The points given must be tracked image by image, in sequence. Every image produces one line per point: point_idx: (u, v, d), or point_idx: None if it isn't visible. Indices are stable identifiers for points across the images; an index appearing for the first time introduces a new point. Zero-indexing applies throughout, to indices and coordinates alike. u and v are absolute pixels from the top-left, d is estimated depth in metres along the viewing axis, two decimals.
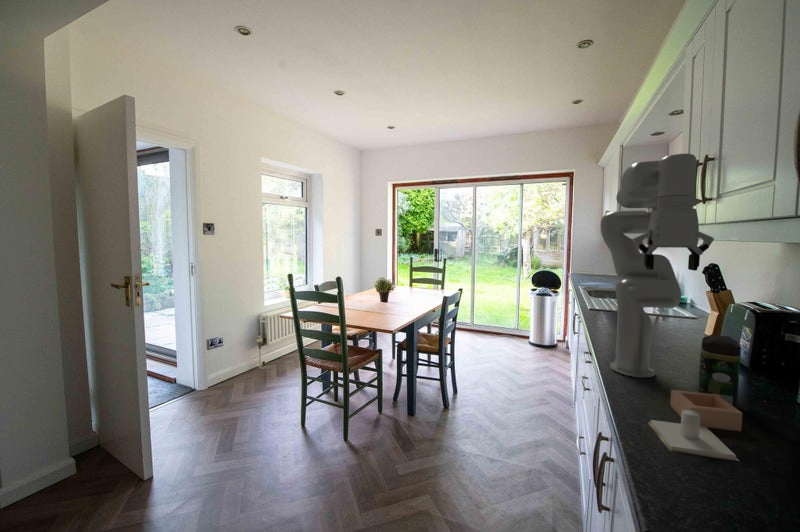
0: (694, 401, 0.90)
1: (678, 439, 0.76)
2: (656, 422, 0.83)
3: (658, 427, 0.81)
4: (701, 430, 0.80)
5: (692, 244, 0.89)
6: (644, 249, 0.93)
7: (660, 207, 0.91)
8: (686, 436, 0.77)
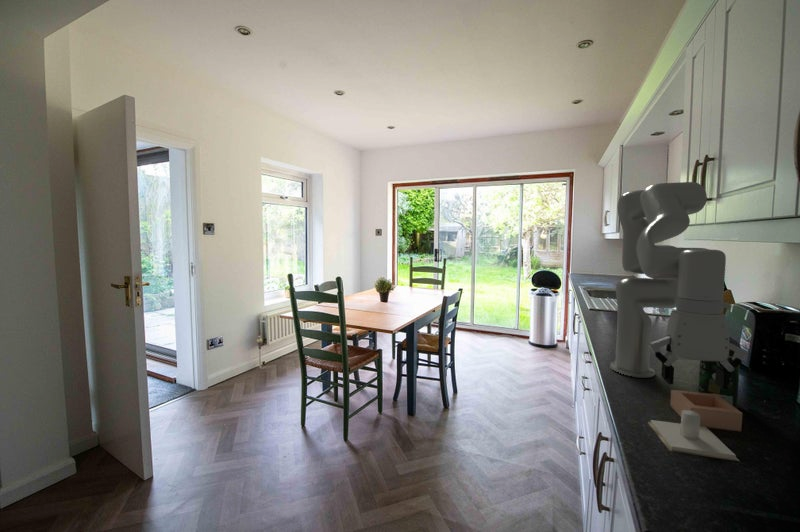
0: (694, 401, 0.90)
1: (678, 439, 0.76)
2: (656, 422, 0.83)
3: (658, 427, 0.81)
4: (701, 430, 0.80)
5: (721, 359, 0.73)
6: (662, 359, 0.77)
7: (681, 310, 0.75)
8: (686, 436, 0.77)
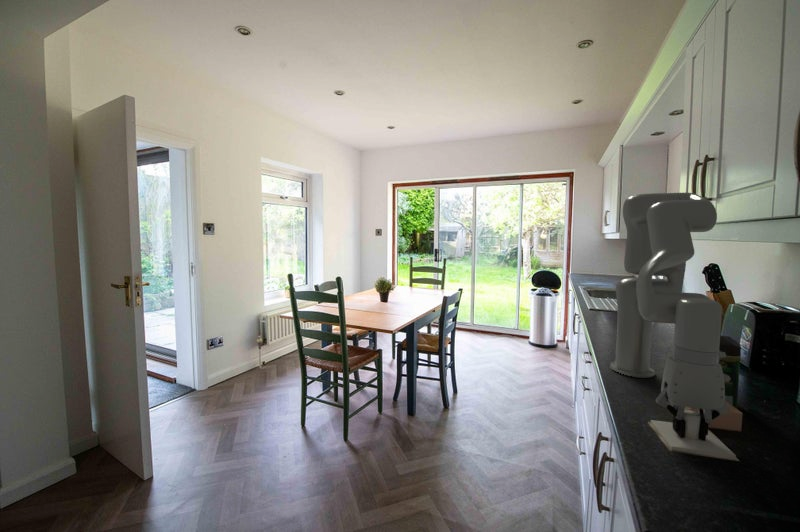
0: None
1: (678, 439, 0.76)
2: (656, 422, 0.83)
3: (658, 427, 0.81)
4: None
5: (716, 407, 0.74)
6: (673, 412, 0.77)
7: (678, 359, 0.76)
8: (686, 436, 0.77)
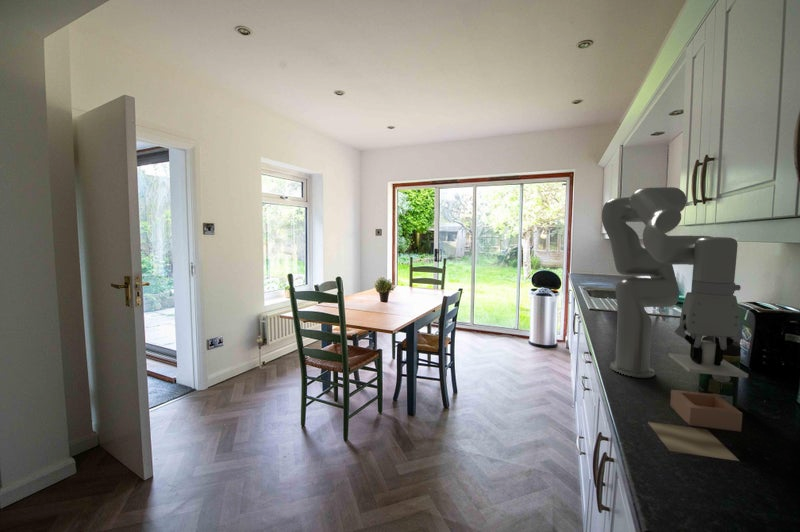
0: (694, 401, 0.90)
1: (695, 365, 0.84)
2: (675, 354, 0.91)
3: (676, 357, 0.89)
4: None
5: (731, 334, 0.82)
6: (691, 341, 0.85)
7: (696, 292, 0.84)
8: (703, 362, 0.85)
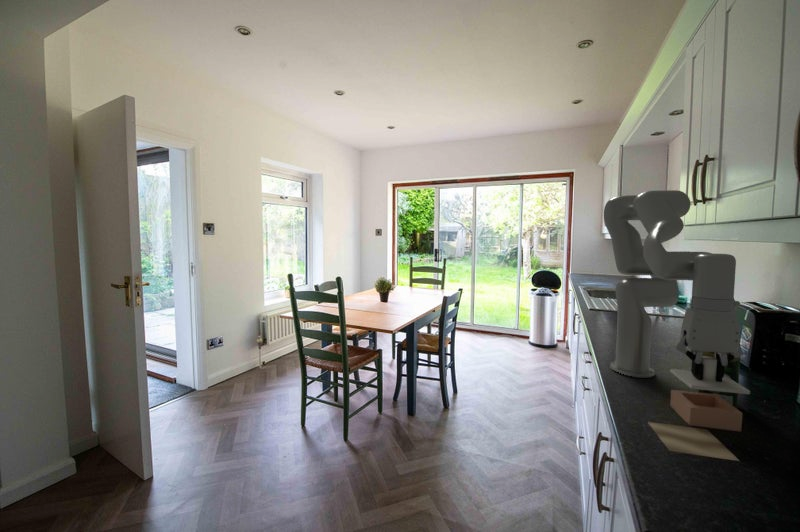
0: (694, 401, 0.90)
1: (697, 381, 0.84)
2: (676, 370, 0.91)
3: (678, 373, 0.89)
4: None
5: (732, 350, 0.82)
6: (692, 357, 0.85)
7: (696, 308, 0.84)
8: (704, 378, 0.85)
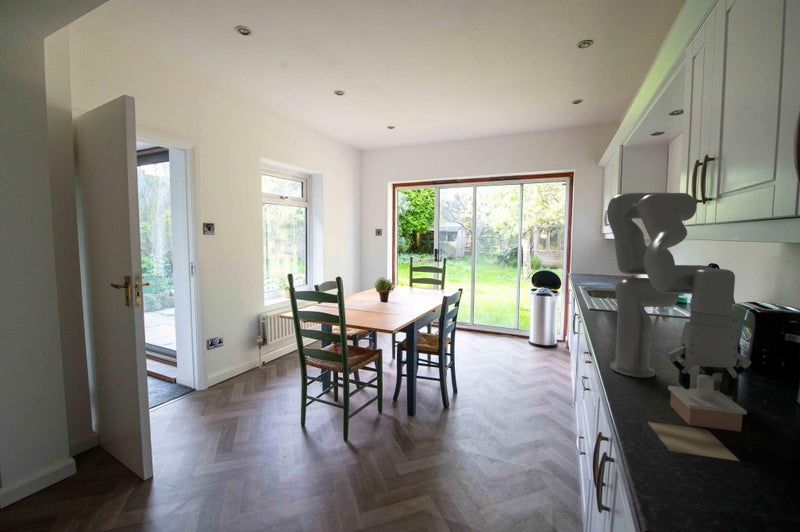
0: None
1: (694, 399, 0.85)
2: (674, 387, 0.92)
3: (675, 391, 0.90)
4: (714, 393, 0.88)
5: (730, 365, 0.82)
6: (679, 367, 0.87)
7: (695, 323, 0.85)
8: (701, 397, 0.85)
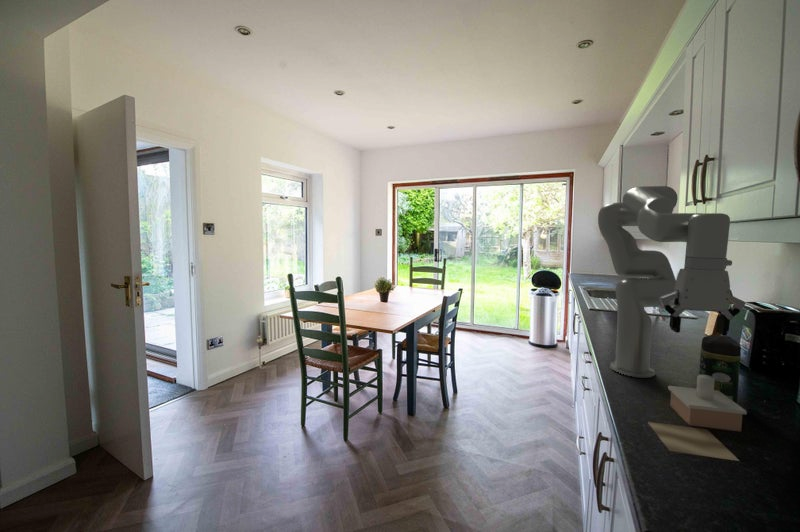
0: None
1: (694, 399, 0.85)
2: (674, 387, 0.92)
3: (675, 391, 0.90)
4: (714, 393, 0.88)
5: (722, 309, 0.83)
6: (670, 311, 0.88)
7: (689, 268, 0.85)
8: (701, 397, 0.85)
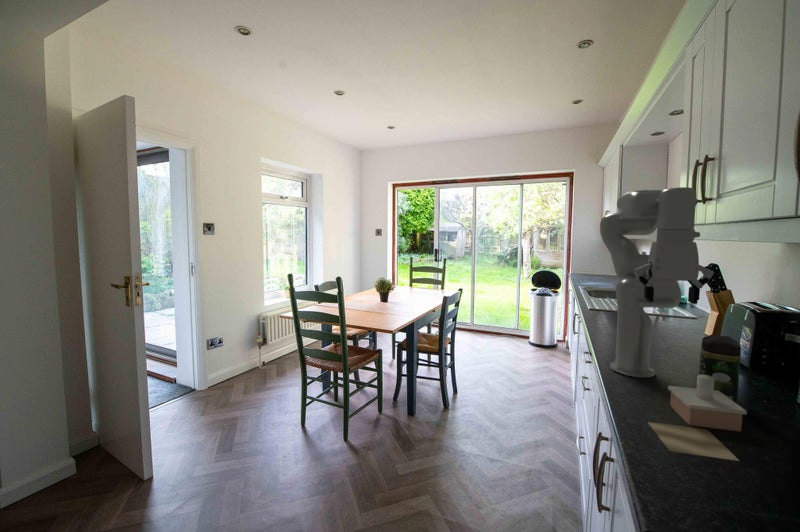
0: None
1: (694, 399, 0.85)
2: (674, 387, 0.92)
3: (675, 391, 0.90)
4: (714, 393, 0.88)
5: (692, 278, 0.88)
6: (644, 281, 0.92)
7: (660, 240, 0.90)
8: (701, 397, 0.85)
